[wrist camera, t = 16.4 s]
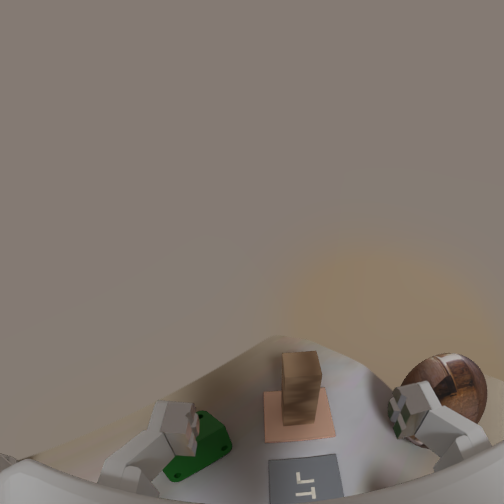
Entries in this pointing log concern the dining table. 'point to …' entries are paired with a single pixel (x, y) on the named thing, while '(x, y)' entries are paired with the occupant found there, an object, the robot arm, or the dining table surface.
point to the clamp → (201, 449)
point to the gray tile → (304, 480)
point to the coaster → (296, 432)
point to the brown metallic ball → (452, 385)
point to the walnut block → (300, 387)
